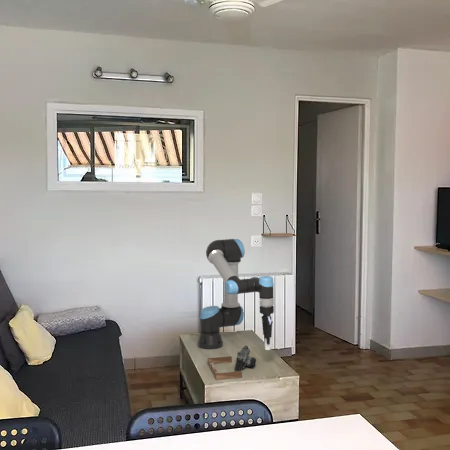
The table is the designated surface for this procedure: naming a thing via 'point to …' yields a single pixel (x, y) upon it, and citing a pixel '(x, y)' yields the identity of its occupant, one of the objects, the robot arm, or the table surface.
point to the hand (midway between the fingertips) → (267, 349)
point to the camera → (244, 359)
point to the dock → (227, 374)
